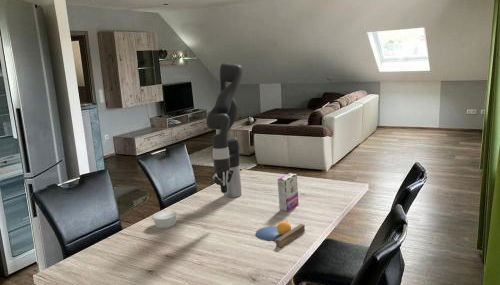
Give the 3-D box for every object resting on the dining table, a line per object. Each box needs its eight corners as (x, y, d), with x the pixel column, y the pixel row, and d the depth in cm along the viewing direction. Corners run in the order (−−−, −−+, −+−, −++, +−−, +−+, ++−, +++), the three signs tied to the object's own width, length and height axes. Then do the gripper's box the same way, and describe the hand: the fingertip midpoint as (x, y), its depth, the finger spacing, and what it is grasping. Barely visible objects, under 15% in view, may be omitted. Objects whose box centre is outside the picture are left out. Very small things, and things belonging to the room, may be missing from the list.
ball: (283, 240, 164) (272, 231, 167) (290, 235, 169) (279, 226, 172) (288, 230, 162) (277, 221, 164) (295, 225, 166) (284, 216, 169)
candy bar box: (290, 203, 204) (289, 172, 201) (298, 204, 201) (297, 173, 198) (278, 210, 195) (277, 178, 192) (287, 212, 192) (285, 179, 189)
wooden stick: (276, 246, 157) (275, 239, 157) (300, 230, 171) (300, 223, 170) (280, 247, 156) (280, 240, 155) (304, 231, 169) (304, 224, 169)
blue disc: (249, 235, 169) (249, 235, 169) (268, 224, 179) (268, 223, 179) (275, 243, 160) (275, 243, 160) (294, 231, 170) (294, 230, 170)
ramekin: (172, 230, 180) (170, 219, 179) (149, 229, 183) (148, 219, 182) (181, 220, 191) (180, 210, 190) (159, 220, 193) (158, 210, 192)
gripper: (225, 152, 188) (228, 187, 191) (205, 159, 178) (208, 195, 182) (236, 154, 183) (239, 189, 187) (216, 160, 173) (220, 198, 177)
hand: (224, 192), depth 184 cm, fingers closed
